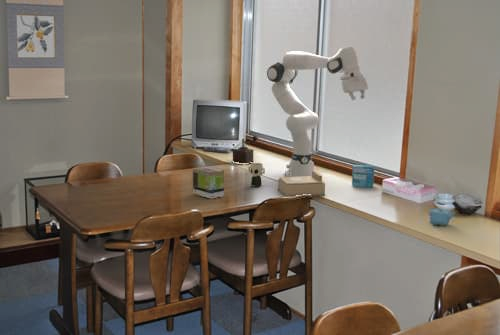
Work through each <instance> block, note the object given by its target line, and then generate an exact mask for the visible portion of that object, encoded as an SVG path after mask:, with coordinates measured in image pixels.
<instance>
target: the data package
mask: <svg viewBox="0 0 500 335" xmlns="http://www.w3.org/2000/svg"><path fill="white" fill-rule="evenodd" d="M351 170H352V175H351V186H352V187H353V188H366V189H367V188H374V182H375V178H374V177H375V167H374V166H373V165H365V164H364V165H363V164H354V165H353V166H352V169H351Z"/></svg>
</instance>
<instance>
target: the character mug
mask: <svg viewBox="0 0 500 335" xmlns="http://www.w3.org/2000/svg"><path fill="white" fill-rule="evenodd" d="M247 169H248V170H247V172H248V173H250V175H251V181H250V186H251V185H252V186H251V187H254V186H259V187H261V186H262V184H263V182H262V177H261V176H263V174H265V172H266V171H265V170H266V169H265V167H264V165H263V163H261V162H254V163H251V164H249V165H248V167H247Z"/></svg>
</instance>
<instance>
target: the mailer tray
mask: <svg viewBox="0 0 500 335" xmlns="http://www.w3.org/2000/svg"><path fill="white" fill-rule="evenodd" d="M277 183H278V184H277V186H278V190H277V191H279V192H280V193H281V195H283V196H284V197H286V196H295V197H297V196H296V195H303V194H311V195H312V197H313V196H326V183H325V182H324V183H310V184H286V183H284V182H283V181H282V180H281V179H280V178H278V182H277ZM286 198H287V197H286Z"/></svg>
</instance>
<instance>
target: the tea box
mask: <svg viewBox="0 0 500 335" xmlns="http://www.w3.org/2000/svg"><path fill="white" fill-rule="evenodd" d="M192 174H193V175H192V176H193V177H192V181H193V182H192V183H193V186H192V188H193V189H192V191H193V193H196V194H199V195H202V196H204V197H207V198H215V197H220V196H224V195H225V171H224V169H219V168H214V167H212V166H211V167H210V166H203V167H195V168H193V169H192ZM207 198H206V199H207Z"/></svg>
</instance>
